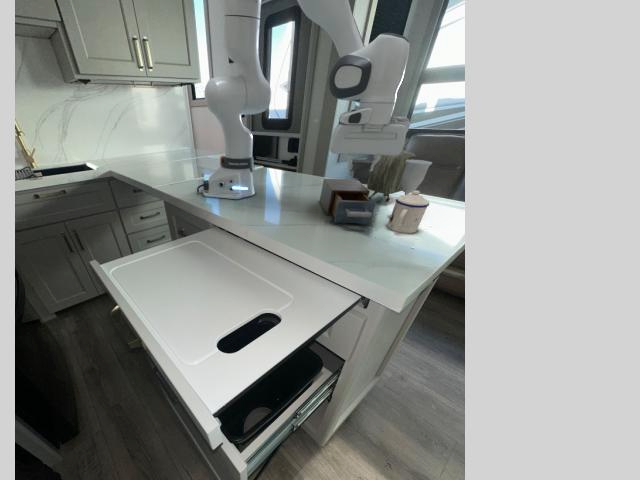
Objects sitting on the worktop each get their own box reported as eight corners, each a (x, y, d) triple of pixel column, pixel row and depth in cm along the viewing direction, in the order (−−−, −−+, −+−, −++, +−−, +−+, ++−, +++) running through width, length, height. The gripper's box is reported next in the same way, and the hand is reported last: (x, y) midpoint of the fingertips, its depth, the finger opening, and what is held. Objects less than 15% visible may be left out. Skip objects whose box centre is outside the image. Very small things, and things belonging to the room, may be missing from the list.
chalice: (404, 215, 96) (426, 160, 85) (412, 222, 90) (436, 164, 79) (383, 214, 96) (402, 159, 85) (389, 221, 91) (411, 163, 80)
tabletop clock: (383, 195, 115) (406, 126, 100) (403, 200, 109) (430, 129, 94) (362, 200, 109) (382, 128, 94) (381, 206, 103) (406, 130, 88)
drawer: (374, 229, 83) (381, 207, 79) (337, 227, 84) (343, 206, 80) (357, 208, 99) (362, 189, 94) (326, 207, 99) (330, 188, 95)
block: (352, 178, 81) (356, 162, 78) (349, 174, 84) (352, 159, 81) (367, 178, 80) (371, 162, 78) (363, 175, 84) (367, 159, 81)
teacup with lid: (391, 220, 92) (405, 185, 84) (420, 227, 87) (437, 190, 80) (379, 231, 85) (392, 193, 77) (409, 239, 80) (426, 200, 73)
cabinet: (362, 216, 95) (369, 191, 90) (326, 214, 95) (332, 190, 90) (350, 202, 107) (356, 179, 102) (319, 201, 108) (323, 178, 102)
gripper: (407, 115, 75) (390, 169, 83) (334, 114, 76) (324, 167, 84) (418, 117, 70) (398, 174, 78) (339, 116, 71) (328, 172, 79)
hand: (359, 170), depth 81 cm, fingers closed on block, 4 cm apart
